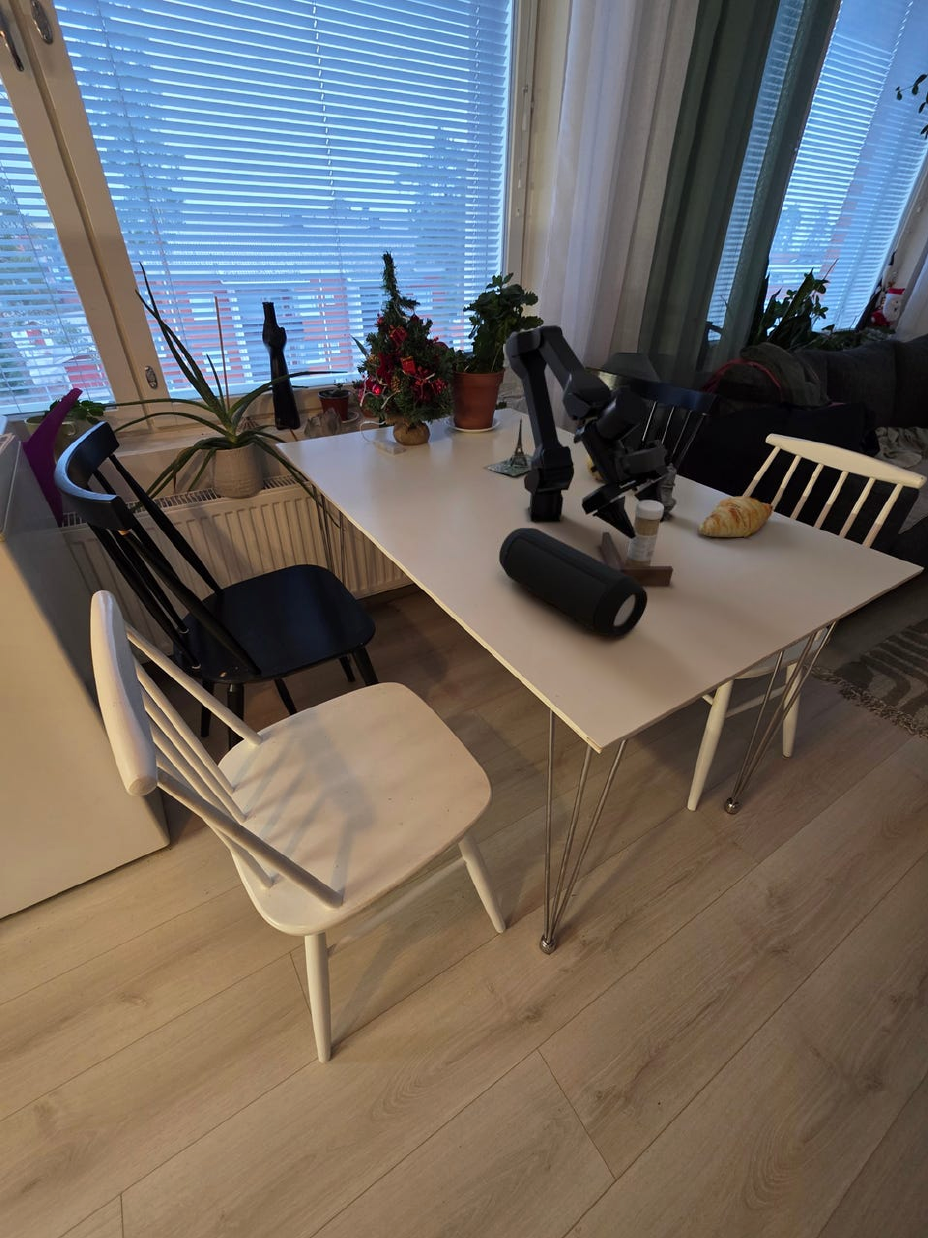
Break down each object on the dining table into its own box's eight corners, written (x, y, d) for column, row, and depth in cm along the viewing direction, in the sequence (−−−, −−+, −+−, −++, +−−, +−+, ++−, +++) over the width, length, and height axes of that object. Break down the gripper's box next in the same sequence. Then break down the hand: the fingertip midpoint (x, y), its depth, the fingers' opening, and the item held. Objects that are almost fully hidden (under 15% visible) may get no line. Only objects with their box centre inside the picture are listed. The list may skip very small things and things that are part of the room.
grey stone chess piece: (674, 522, 115) (688, 468, 108) (646, 519, 116) (658, 466, 109) (671, 510, 120) (684, 459, 113) (644, 508, 121) (655, 457, 114)
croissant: (705, 558, 109) (730, 535, 102) (677, 521, 112) (700, 496, 106) (771, 533, 117) (799, 510, 110) (743, 499, 121) (768, 475, 114)
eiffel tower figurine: (514, 478, 136) (517, 425, 128) (486, 468, 142) (487, 417, 134) (551, 464, 144) (556, 414, 136) (523, 455, 150) (526, 406, 142)
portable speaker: (643, 628, 84) (657, 575, 78) (603, 652, 80) (614, 597, 74) (533, 564, 101) (537, 516, 95) (494, 581, 96) (495, 532, 90)
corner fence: (616, 586, 95) (620, 569, 92) (600, 547, 106) (602, 531, 104) (668, 586, 94) (673, 569, 92) (646, 547, 106) (650, 531, 104)
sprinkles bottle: (637, 563, 101) (651, 497, 93) (654, 574, 98) (670, 506, 90) (618, 568, 99) (631, 501, 92) (634, 580, 96) (649, 511, 88)
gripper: (607, 438, 81) (655, 527, 81) (671, 415, 91) (713, 494, 91) (561, 473, 91) (604, 553, 91) (624, 449, 101) (663, 521, 101)
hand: (648, 529), depth 93 cm, fingers open, 9 cm apart
